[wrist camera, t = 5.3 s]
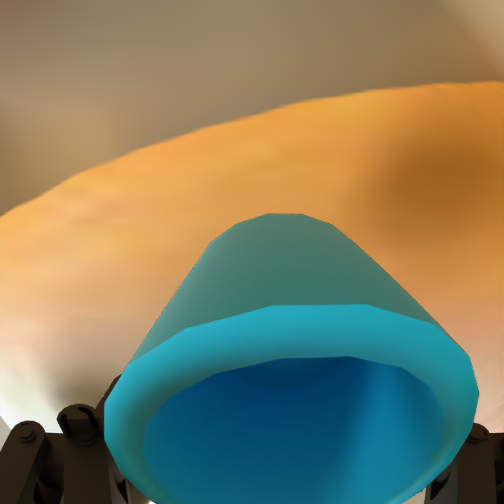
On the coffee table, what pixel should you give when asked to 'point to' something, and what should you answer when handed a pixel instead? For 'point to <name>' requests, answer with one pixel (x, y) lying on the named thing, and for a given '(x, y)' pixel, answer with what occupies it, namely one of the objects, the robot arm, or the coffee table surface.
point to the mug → (290, 379)
